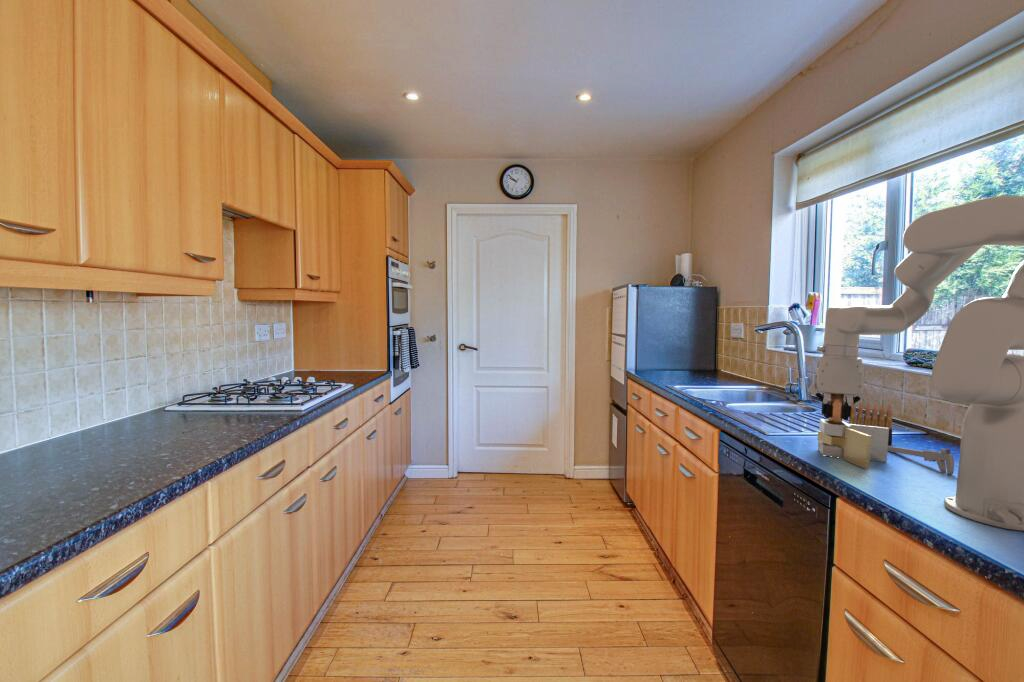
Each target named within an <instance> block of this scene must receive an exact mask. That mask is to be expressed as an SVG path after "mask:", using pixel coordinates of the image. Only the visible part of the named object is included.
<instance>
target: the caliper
mask: <svg viewBox="0 0 1024 682" xmlns="http://www.w3.org/2000/svg"><path fill="white" fill-rule="evenodd" d="M887 450H888V451H887V452H889V451H890V453H896V454H902V455H908V456H909V455H910V456H915V457H920V458H923V461H925V462H927V461H928V462H936V464H937V467H938V470H939V471H941V473H946V474H947V475H953V474H954V471H955V459H954V454H953V453H951V449H950V448H940V451H935V450H928V449H925V450H924V449H923V450H916V449H912V448H905V447H904V448H903V447H899V446H898V447H897V446H893V445H888V448H887Z"/></svg>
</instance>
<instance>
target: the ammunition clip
mask: <svg viewBox="0 0 1024 682" xmlns="http://www.w3.org/2000/svg"><path fill="white" fill-rule="evenodd" d="M870 406H871V405H870V404H869V403H867V404H866V405H865V408H864V405H863V403H862V402H860V403H859V404H858V407H857V408H856V403H855V404H853V406H851V416H850V417H848V424H856V425H866V426H875V427H885V428H889V436H888V446H893V409H892V406H891V404H889V405H888V407H887V409H886V411H885V405H884V404H881V406H880V407H879V408H880V409H879V413H878V406H877V404H876V403H875V404H874V405H873V407H872V411H871V407H870ZM864 409H865V410H864ZM856 411H857V412H856ZM885 412H886V415H885Z"/></svg>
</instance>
